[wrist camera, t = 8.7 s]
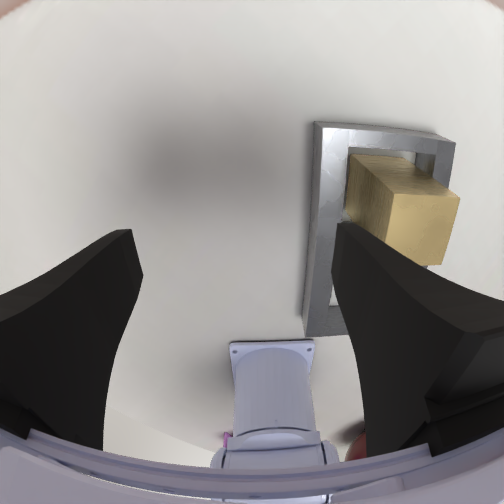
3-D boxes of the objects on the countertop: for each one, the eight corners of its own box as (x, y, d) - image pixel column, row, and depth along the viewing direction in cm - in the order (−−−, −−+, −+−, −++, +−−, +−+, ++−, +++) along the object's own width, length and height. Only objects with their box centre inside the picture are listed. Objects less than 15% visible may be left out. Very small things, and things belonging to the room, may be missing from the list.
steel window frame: (395, 309, 25) (404, 328, 23) (301, 316, 26) (305, 337, 24) (436, 134, 17) (455, 142, 15) (314, 121, 17) (322, 127, 15)
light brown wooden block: (395, 210, 20) (441, 264, 14) (345, 209, 20) (379, 267, 14) (403, 157, 18) (460, 197, 12) (350, 153, 18) (394, 193, 12)
